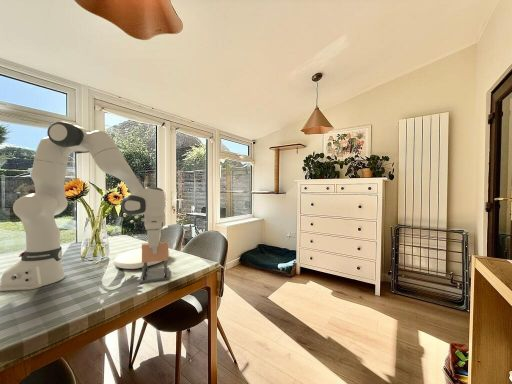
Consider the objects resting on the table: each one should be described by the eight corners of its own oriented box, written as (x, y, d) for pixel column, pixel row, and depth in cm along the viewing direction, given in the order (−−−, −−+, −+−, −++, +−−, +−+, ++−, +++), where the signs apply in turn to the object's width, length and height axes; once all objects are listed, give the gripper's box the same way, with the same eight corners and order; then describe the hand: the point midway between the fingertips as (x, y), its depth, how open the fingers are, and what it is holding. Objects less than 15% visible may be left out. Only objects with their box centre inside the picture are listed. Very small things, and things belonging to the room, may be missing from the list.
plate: (131, 265, 108) (103, 256, 122) (133, 278, 109) (104, 268, 123) (178, 246, 132) (150, 240, 146) (179, 257, 133) (151, 250, 146)
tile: (141, 262, 102) (141, 245, 101) (142, 260, 104) (142, 243, 104) (168, 260, 105) (168, 243, 105) (168, 258, 108) (168, 241, 108)
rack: (139, 283, 99) (139, 267, 99) (143, 272, 112) (143, 258, 111) (168, 279, 104) (168, 264, 103) (169, 269, 116) (169, 255, 116)
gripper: (149, 219, 113) (150, 246, 113) (144, 226, 94) (145, 259, 94) (163, 218, 115) (163, 245, 116) (161, 225, 96) (161, 258, 96)
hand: (155, 252), depth 105 cm, fingers closed on tile, 3 cm apart
